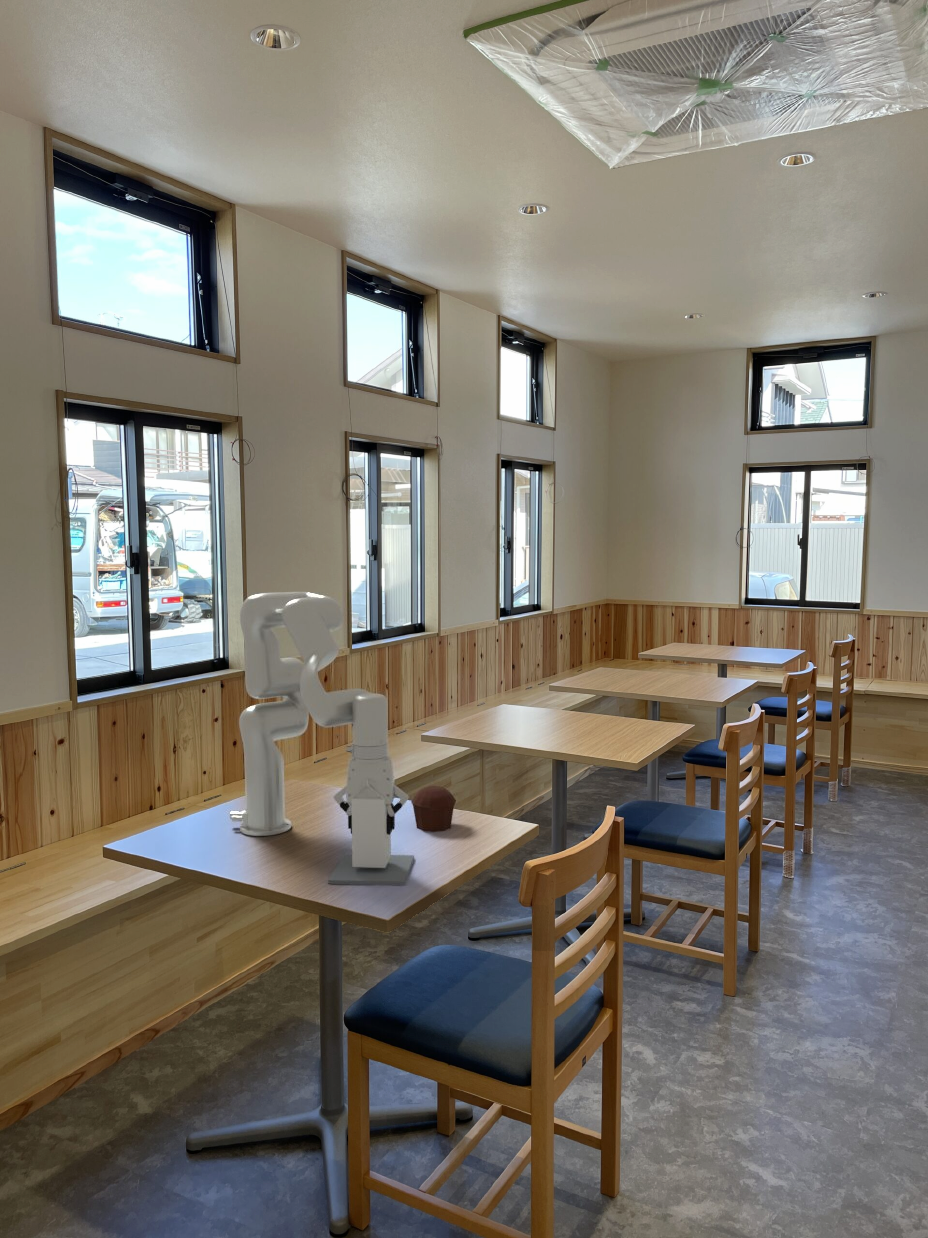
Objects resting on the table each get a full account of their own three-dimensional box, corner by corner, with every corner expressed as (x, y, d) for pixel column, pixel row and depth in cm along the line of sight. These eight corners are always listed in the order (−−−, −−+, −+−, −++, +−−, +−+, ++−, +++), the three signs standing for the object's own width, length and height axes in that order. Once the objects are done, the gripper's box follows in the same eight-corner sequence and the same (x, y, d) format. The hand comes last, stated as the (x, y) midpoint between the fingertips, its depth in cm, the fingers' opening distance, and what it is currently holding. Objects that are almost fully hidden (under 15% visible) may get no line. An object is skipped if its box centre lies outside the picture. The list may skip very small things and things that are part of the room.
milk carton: (391, 857, 195) (390, 772, 194) (385, 869, 188) (384, 781, 187) (359, 856, 196) (358, 772, 194) (352, 868, 189) (351, 780, 187)
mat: (328, 884, 185) (328, 880, 185) (343, 857, 201) (343, 854, 201) (404, 885, 184) (404, 881, 184) (414, 858, 199) (414, 855, 199)
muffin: (461, 831, 219) (461, 791, 218) (418, 835, 216) (417, 795, 215) (448, 818, 230) (448, 780, 230) (407, 822, 227) (406, 783, 227)
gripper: (326, 755, 187) (328, 837, 188) (408, 756, 186) (409, 838, 187) (334, 747, 195) (335, 826, 196) (413, 748, 193) (413, 827, 195)
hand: (371, 831), depth 192 cm, fingers closed on milk carton, 7 cm apart
